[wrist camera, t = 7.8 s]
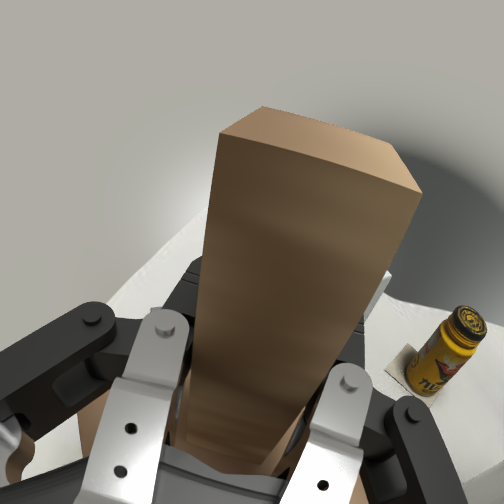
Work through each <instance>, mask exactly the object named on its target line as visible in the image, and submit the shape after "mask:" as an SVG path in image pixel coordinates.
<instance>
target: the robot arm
mask: <svg viewBox="0 0 504 504" xmlns="http://www.w3.org/2000/svg"><path fill="white" fill-rule="evenodd" d="M201 262H202V256H201V257H199V258H197V259H195V260H194V261H192V263H191V264H190V266H189V267H188V269H187V270H186V273H184V275H183V276H182V278H181V280H180V281H179V282H178V284H177V285H176V287H175V288H174V290H173V291H172V293H171V294H170V296H169V298H168V299H167V301H166V302H165V304H164V305H163V307H162V308H161V309H160V310H155V311H153V312H150V313H149V314H147V315H146V316H145V317H144V319H127V318H117V317H115V314H114V312H113V310H112V309H111V308H110V307H109V306H108V305H106V304H104V303H101V302H87V303H84V304H82V305H80V306H78V307H76V308H74V309H73V310H71V311H69V312H68V313H66V314H64V315H62V316H60V317H59V318H57V319H55V320H53V321H52V322H50V323H48V324H47V325H45V326H43V327H41V328H40V329H38V330H36V331H35V332H33V333H31V334H29V335H28V336H26V337H25V338H23V339H21V340H20V341H18V342H16V343H14V344H13V345H11V346H10V347H8V348H6V349H4V350H3V351H1V352H0V504H348V503H349V501H350V498H351V495H352V492H353V489H354V486H355V483H356V479H357V476H358V473H359V475H360V478H361V481H362V484H363V487H364V490H365V494H366V497H367V500H368V503H369V504H504V460H503V461H502V462H500V463H499V464H497V465H495V466H494V467H492V468H490V469H489V470H487V471H485V472H484V473H482V474H480V475H478V476H476V477H475V478H473V479H471V480H469V481H467V482H466V483H464V484H462V485H461V483H460V480H459V477H458V475H457V472H456V470H455V467H454V465H453V462H452V460H451V458H450V455H449V453H448V450H447V448H446V446H445V443H444V441H443V439H442V436H441V434H440V432H439V430H438V427H437V425H436V423H435V421H434V418H433V416H432V414H431V412H430V410H429V408H428V406H427V405H426V404H425V403H424V402H423V401H422V400H421V399H419V398H417V397H414V396H404V397H401V398H400V399H398V400H397V401H395V400H393V399H391V398H389V397H388V396H386V395H384V394H382V393H380V392H379V391H377V390H376V389H375V388H374V387H373V384H372V380H371V378H370V376H369V375H368V373H367V372H366V371H365V344H364V326H363V325H364V314H363V315H362V317H361V319H360V321H359V322H358V324H357V326H356V328H355V329H354V331H353V333H352V334H351V336H350V338H349V339H348V341H347V343H346V344H345V346H344V348H343V349H342V351H341V352H340V354H339V356H338V357H337V359H336V360H335V362H334V364H333V365H332V367H331V368H330V370H329V371H328V373H327V374H326V376H325V378H324V379H323V381H322V382H321V384H320V385H319V387H318V388H317V390H316V391H315V392H314V394H313V395H312V397H311V398H310V400H309V401H308V403H307V404H306V405H305V409H304V410H303V412H302V413H301V415H300V417H299V419H298V422H297V424H296V426H295V429H294V431H293V433H292V435H291V438H290V440H289V442H288V444H287V446H286V448H285V451H284V453H283V455H282V457H281V459H280V461H279V463H278V464H277V466H276V467H275V469H274V470H273V472H272V474H271V476H270V477H269V476H265V475H235V474H223V473H220V472H218V471H216V470H214V469H213V468H211V467H209V466H208V465H206V464H204V463H203V462H201V461H199V460H198V459H196V458H194V457H193V456H191V455H190V454H188V453H187V452H184V451H181V450H179V449H176V448H174V447H175V439H176V430H177V424H178V419H179V413H180V408H181V403H182V398H183V393H184V388H185V383H186V378H187V376H188V374H189V371H190V369H191V362H192V350H193V339H194V328H195V318H196V308H197V298H198V289H199V279H200V271H201ZM110 389H111V390H110ZM108 390H110V393H109V396H108V399H107V402H106V405H105V408H104V411H103V414H102V417H101V420H100V423H99V427H98V430H97V433H96V436H95V440H94V443H93V447H92V450H91V453H90V455H89V456H87V457H85V458H82V459H80V460H77V461H75V462H72V463H70V464H67V465H64V466H62V467H59V468H56V469H54V470H51V471H48V472H46V473H43V474H40V475H37V476H34V477H31V478H28V479H25V480H22V481H21V476H22V472H23V470H24V468H25V467H26V465H27V464H29V463H30V462H31V461H32V459H33V456H34V453H35V444H34V442H35V441H37V440H38V439H40V438H41V437H43V436H44V435H45V434H47V433H48V432H50V431H51V430H53V429H54V428H56V427H57V426H58V425H60V424H61V423H63V422H64V421H66V420H67V419H69V418H70V417H71V416H73V415H74V414H76V413H77V412H79V411H80V410H81V409H83V408H84V407H86V406H87V405H88V404H90V403H91V402H93V401H94V400H96V399H97V398H98V397H100V396H101V395H103V394H104V393H105V392H107V391H108Z"/></svg>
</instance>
